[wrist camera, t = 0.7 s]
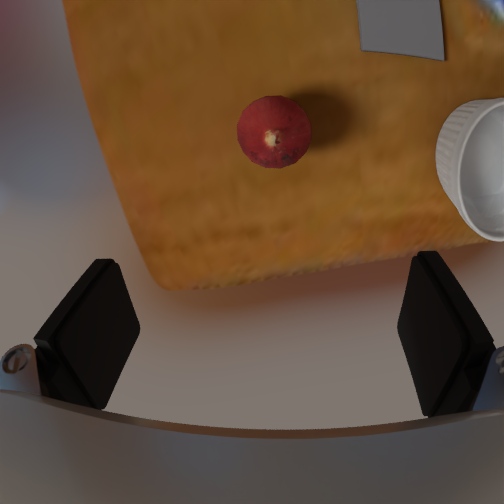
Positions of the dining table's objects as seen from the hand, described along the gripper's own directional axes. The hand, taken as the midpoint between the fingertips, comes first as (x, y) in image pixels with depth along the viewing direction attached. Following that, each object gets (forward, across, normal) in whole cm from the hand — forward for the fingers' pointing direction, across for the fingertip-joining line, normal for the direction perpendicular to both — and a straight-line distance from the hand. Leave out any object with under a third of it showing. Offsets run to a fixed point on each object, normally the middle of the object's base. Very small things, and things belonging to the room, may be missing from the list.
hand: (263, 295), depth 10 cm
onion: (+22, 0, -2) cm, 22 cm away
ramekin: (+22, -21, 0) cm, 30 cm away
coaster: (+22, -12, -13) cm, 28 cm away
